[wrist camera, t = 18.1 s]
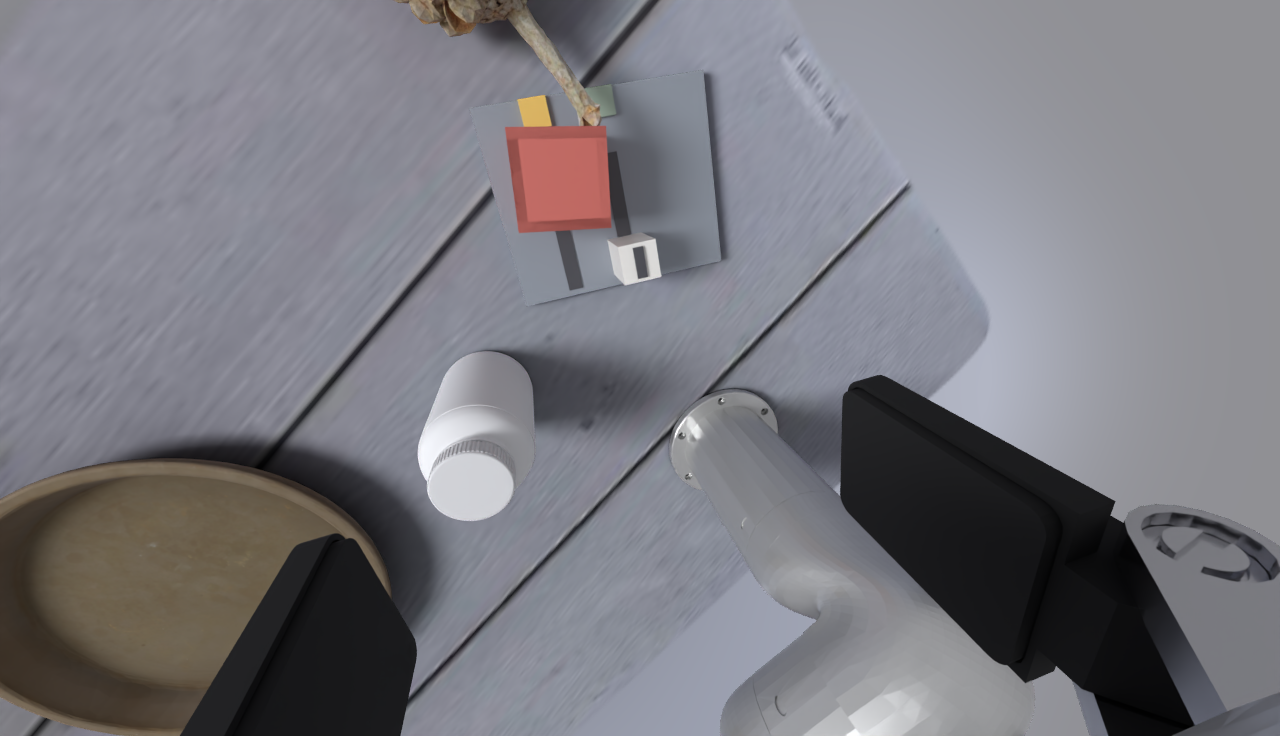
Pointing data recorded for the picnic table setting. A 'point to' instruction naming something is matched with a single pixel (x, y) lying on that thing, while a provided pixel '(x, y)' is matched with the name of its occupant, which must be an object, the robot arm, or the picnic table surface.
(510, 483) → the pill bottle
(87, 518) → the plant saucer
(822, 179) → the picnic table surface
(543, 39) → the pine cone
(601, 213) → the cap
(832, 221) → the picnic table surface
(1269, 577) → the robot arm
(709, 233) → the breaker panel
